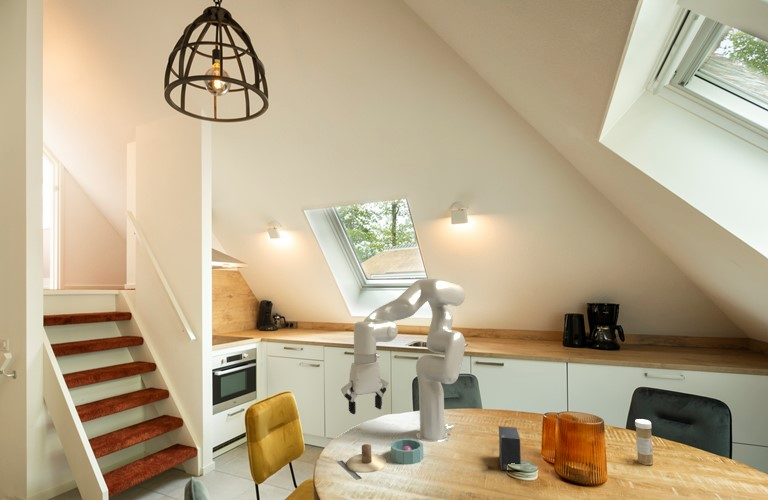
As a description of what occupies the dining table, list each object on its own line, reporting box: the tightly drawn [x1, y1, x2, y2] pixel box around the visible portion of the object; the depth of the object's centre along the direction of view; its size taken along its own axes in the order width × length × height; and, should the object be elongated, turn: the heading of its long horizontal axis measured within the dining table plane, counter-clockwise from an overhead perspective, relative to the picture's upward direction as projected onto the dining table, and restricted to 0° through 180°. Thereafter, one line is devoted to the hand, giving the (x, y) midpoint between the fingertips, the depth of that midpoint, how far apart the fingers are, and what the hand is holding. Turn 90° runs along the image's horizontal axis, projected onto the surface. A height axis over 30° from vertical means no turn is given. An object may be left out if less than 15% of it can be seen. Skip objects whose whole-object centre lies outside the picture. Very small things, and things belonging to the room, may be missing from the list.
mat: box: [336, 459, 362, 481], centre depth 139 cm, size 15×15×1 cm
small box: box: [498, 425, 522, 471], centre depth 139 cm, size 11×6×10 cm, turn 168°
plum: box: [402, 446, 412, 450], centre depth 143 cm, size 4×4×4 cm
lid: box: [346, 443, 387, 474], centre depth 139 cm, size 13×13×6 cm
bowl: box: [390, 438, 424, 465], centre depth 143 cm, size 11×11×5 cm
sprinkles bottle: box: [634, 418, 654, 466], centre depth 138 cm, size 5×5×13 cm
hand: (365, 410), depth 140 cm, fingers open, 9 cm apart
